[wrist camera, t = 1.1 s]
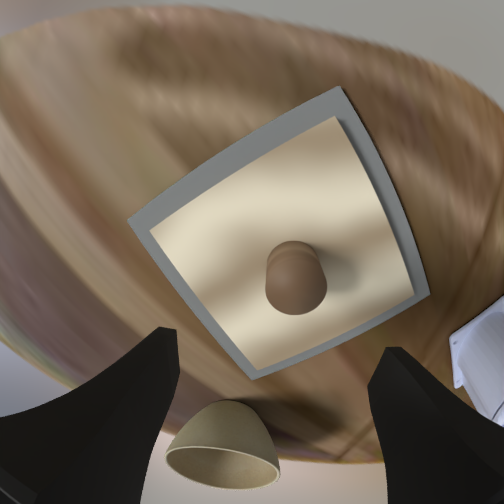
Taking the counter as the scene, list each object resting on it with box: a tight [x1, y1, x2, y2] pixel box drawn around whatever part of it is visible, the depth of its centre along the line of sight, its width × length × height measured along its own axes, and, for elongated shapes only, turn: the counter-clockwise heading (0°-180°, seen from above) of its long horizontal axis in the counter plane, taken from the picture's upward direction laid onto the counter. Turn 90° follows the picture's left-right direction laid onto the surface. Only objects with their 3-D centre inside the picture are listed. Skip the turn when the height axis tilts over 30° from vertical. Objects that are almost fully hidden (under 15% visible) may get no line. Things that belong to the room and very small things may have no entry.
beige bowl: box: [164, 400, 280, 490], centre depth 21 cm, size 10×10×7 cm
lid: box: [149, 116, 414, 370], centre depth 16 cm, size 13×13×4 cm
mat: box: [127, 86, 430, 380], centre depth 18 cm, size 16×16×1 cm
